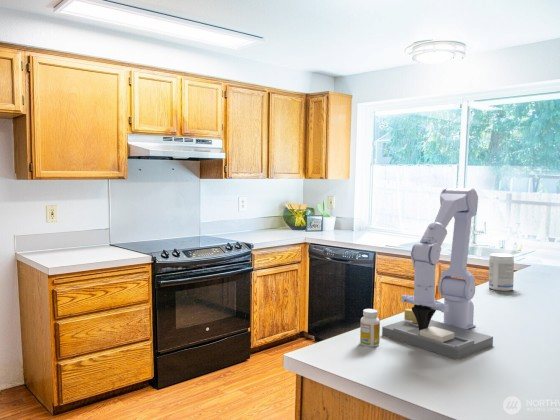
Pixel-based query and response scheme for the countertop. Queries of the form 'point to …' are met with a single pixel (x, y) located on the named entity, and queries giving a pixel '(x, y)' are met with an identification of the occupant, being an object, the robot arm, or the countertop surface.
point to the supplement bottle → (370, 328)
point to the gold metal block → (410, 316)
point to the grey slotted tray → (453, 348)
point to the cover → (437, 334)
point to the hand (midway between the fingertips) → (423, 331)
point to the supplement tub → (501, 271)
